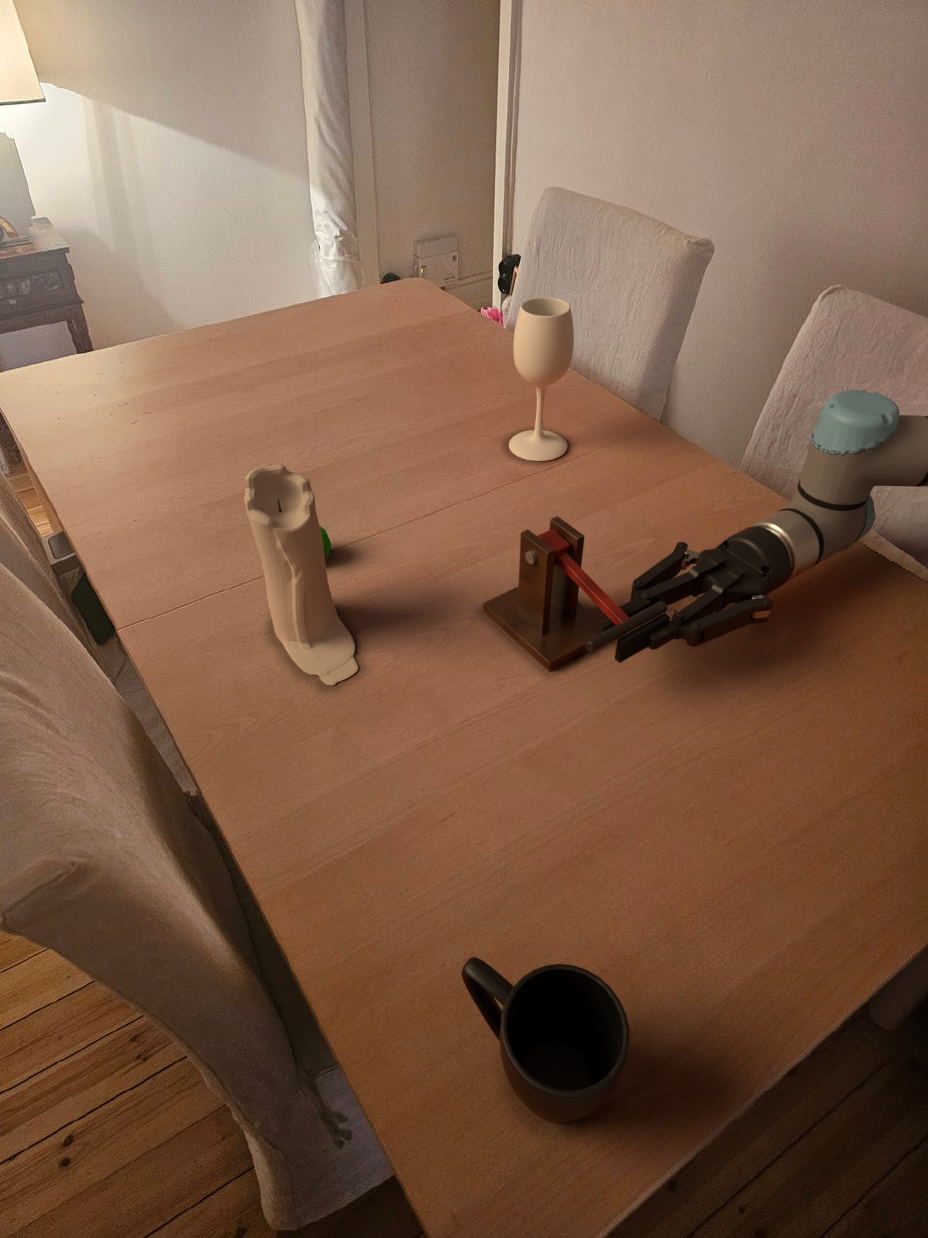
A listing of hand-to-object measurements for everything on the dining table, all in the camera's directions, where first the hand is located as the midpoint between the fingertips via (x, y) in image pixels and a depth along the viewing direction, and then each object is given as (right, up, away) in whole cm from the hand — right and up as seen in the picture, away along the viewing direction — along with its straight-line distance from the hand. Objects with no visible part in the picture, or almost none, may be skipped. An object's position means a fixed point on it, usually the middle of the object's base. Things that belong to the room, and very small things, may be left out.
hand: (609, 643), depth 81 cm
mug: (-9, -30, -22) cm, 38 cm away
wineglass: (-3, +28, +41) cm, 50 cm away
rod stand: (-5, +2, +12) cm, 13 cm away
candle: (-31, 0, +11) cm, 33 cm away
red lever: (-2, +5, +3) cm, 7 cm away
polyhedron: (-33, +10, +22) cm, 41 cm away
